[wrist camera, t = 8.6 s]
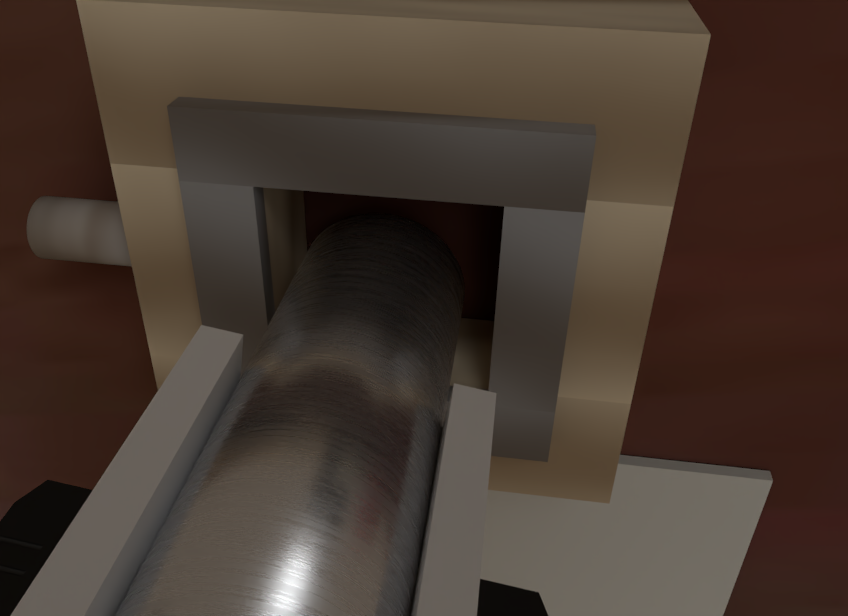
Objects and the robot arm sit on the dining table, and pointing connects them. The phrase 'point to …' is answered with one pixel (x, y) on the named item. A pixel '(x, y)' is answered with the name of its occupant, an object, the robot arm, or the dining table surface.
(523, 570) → the mat
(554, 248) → the chuck block
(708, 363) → the dining table surface
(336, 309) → the copper capped silver cylinder
